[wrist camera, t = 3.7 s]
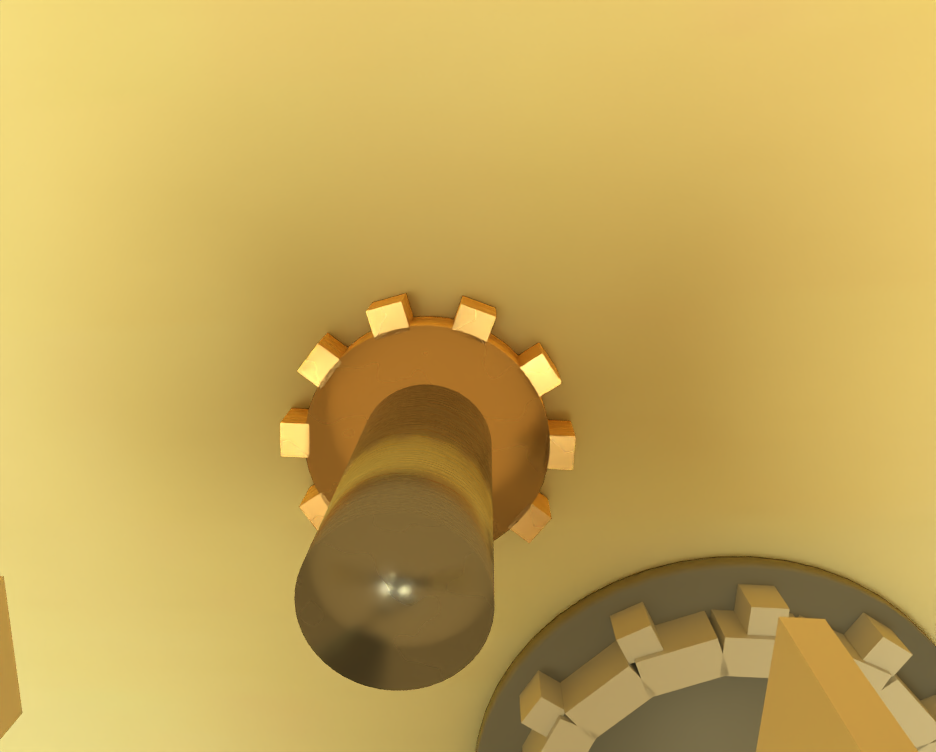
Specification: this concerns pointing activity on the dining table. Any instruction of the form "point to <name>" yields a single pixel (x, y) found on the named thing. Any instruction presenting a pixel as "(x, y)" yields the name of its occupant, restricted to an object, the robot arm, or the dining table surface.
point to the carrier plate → (706, 700)
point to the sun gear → (417, 487)
